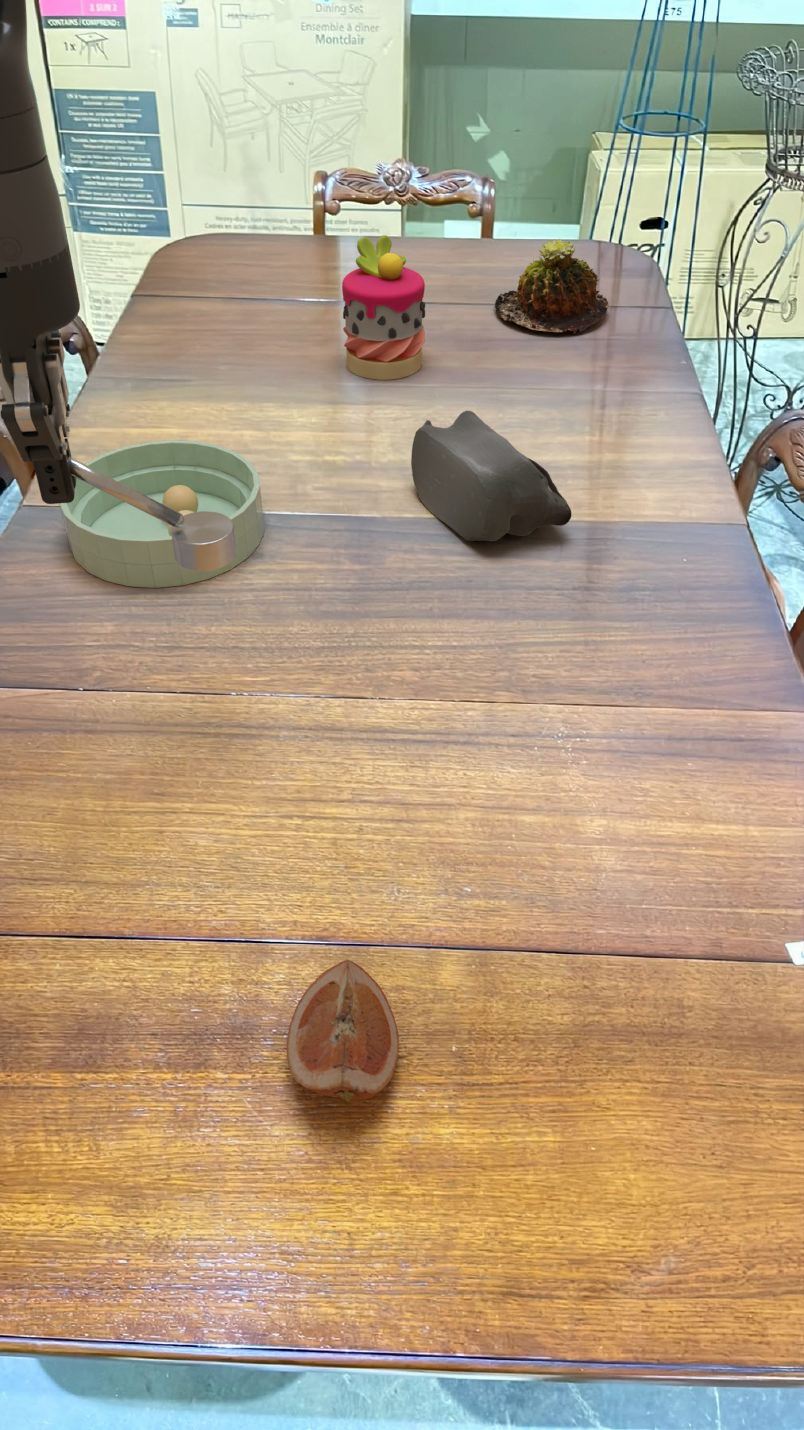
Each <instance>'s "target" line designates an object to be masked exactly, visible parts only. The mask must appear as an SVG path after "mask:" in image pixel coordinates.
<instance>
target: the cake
mask: <svg viewBox="0 0 804 1430" xmlns="http://www.w3.org/2000/svg"><path fill="white" fill-rule="evenodd" d="M392 245H393V243H392V240H391V238H390V237H389V236H388V235H386V234H382V235H380V236H379V237H378V239H377V242H376V246H375V245H374V243H373V242H372V240H371V239H370V238H369V237H365V236H364V237H360V238H359V239H358V240H357V242H356V248H357V251H358V253H359V256H357V257H356V259H355V264H356V265H357V267H358V268H356V269H354V270H351V271H350V272H348V273H347V274H346V275H344V278H343V279H342V282H341V287H342V288H341V291H342V300H343V302H344V306H343V311H342V318H343V320H345V321H344V322H345V323H344V324H345V326H344V327H343V328H342V330H343V332H344V333H345V335H346V336H347V338H346V340H345V342H344V344H343V347H345V348H346V349H345V351H346V352H345V353H346V367H347V369H348V370H349V372H351V373H353V375H356V376H358V377H362V378H365V379H371V380H378V381H386V380H387V381H389V380H390V381H391V380H398V379H404V378H407V377H410V376H412V375H414V374H415V373H417V372H418V371H419V370H420V369H421V368H422V366H423V365H422V361H423V360H422V359H423V358H422V357H423V356H422V355H423V346H424V344H425V342H426V331H425V328H424V325H423V319H425V317H426V303H425V302H424V301H423V300H424V296H425V289H426V287H425V286H426V285H425V284H426V283H425V280H424V278H423V276H422V275H421V274H420V273H418V272H417V271H415V270H413V269H411V268H409V267H404V266H405V265H406V263H407V258H406V257H405V256H404V255H402V254H397V253H394V252H391V250H392ZM375 248H376V249H375Z"/></svg>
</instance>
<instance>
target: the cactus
mask: <svg viewBox="0 0 804 1430" xmlns="http://www.w3.org/2000/svg"><path fill="white" fill-rule="evenodd" d="M574 246H575V244H574V243H573V242H572V241H569V240H568V241H563V240H561V238H559V239H558V240H557V239H554V240H553V241H552V240H549V241H548V242H547V243H545V244H543V243H542V245H541V247H542V248H541V249H539V251H538V252H539V255H538V258H539V259H536V260H535V259H534V258H533V259H532V261H533V263H532V262H530V263H529V265H527V266H526V268H525V269H524V271H523V273H522V274H521V275H519V276H518V278H519V280H518V282H517V283H518V286H517V289H516V290H509V291H508V292H503V293H500V294H499V295H498V296H497V298H496V299H495V302H494V308H495V312H496V314H497V315H498V316H499V318H501V319H503V320H504V321H509V322H514V323H515V324H517V325H520V326H521V327H525V328H527V329H529V330H533V331H542V332H547V333H567V332H568V331H569V332H573V334H574V335H575V334H576V333H577V332H584V331H585V330H587V329H588V328H589V327H591V326H592V325H594V324H596V323H597V322H600V320H602V319H604V317H605V316H606V314H607V311H608V309H609V305H610V304H609V301H608V299H607V297H606V296H603V294H599V293H600V290H597V285H598V282H599V281H600V279H599V278H598V275H597V274H596V272H595V270H594V268H591V267H590V265H589V264H588V263H587V261H585V259H581V260H579V258H578V257H572V256H573V254H574V253H575V251H576V247H574ZM542 257H543V258H542ZM601 290H603V289H601Z"/></svg>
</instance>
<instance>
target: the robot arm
mask: <svg viewBox="0 0 804 1430" xmlns="http://www.w3.org/2000/svg"><path fill="white" fill-rule="evenodd" d="M28 52H29V51H28V13H27V0H0V388H1V389H2V390H3V394H4V398H5V399H4V400H5V402H6V403H4V404H1V410H0V417H1V419H2V420H3V423H4V426H5V427H6V430H7V432H8V433H9V435H10V437H11V439H12V441H13V443H14V446H15V447H16V450H17V452H18V453H19V456H20V457H21V460H22V461H23V463H31V462H32V464H33V468H34V472H35V476H36V481H37V484H38V488H39V493H40V498H41V500H42V502H43V503H45V504H46V505H57V504H58V505H60V504H59V503H70V502H72V501H73V500H74V496H75V490H74V489H75V487H76V477H74V476H72V475H71V472H70V467H69V462H68V457H67V456H69V457H71V458H73V457H72V453H71V452H72V451H71V449H70V443H69V437H70V432H71V426H70V424H69V423H68V420H67V417H70V412H71V406H70V403H69V397H70V392H69V388H68V387H69V386H68V382H67V379H66V378H67V377H66V373H65V372H66V371H65V369H64V367H65V366H64V363H65V357H66V355H65V348H64V344H63V339H62V334H61V332H60V331H59V330H62V329H63V328H65V327H67V326H68V325H70V324H71V323H72V322H73V321H75V319H76V318H77V317H78V315H79V313H80V309H81V303H80V297H79V292H78V287H77V286H78V285H77V281H76V275H75V270H74V265H73V261H72V260H73V259H72V255H71V249H70V244H69V238H68V234H67V227H66V222H65V218H64V212H63V207H62V202H61V197H60V193H59V189H58V186H57V182H56V179H55V177H54V174H53V171H52V168H51V164H50V161H49V155H48V151H47V146H46V141H45V136H44V131H43V126H42V125H43V124H42V120H41V115H40V110H39V105H38V99H37V95H36V90H35V86H34V82H33V79H32V75H31V72H30V65H29V53H28Z"/></svg>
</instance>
